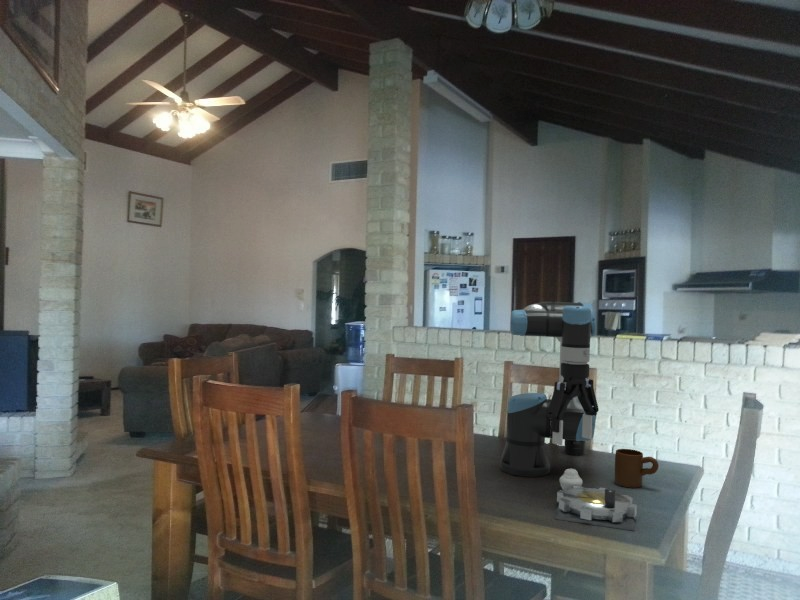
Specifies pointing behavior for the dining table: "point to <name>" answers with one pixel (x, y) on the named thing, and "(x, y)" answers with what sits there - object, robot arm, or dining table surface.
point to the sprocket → (596, 503)
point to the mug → (632, 467)
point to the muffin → (570, 479)
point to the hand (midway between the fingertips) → (572, 441)
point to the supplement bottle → (574, 447)
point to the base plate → (596, 520)
